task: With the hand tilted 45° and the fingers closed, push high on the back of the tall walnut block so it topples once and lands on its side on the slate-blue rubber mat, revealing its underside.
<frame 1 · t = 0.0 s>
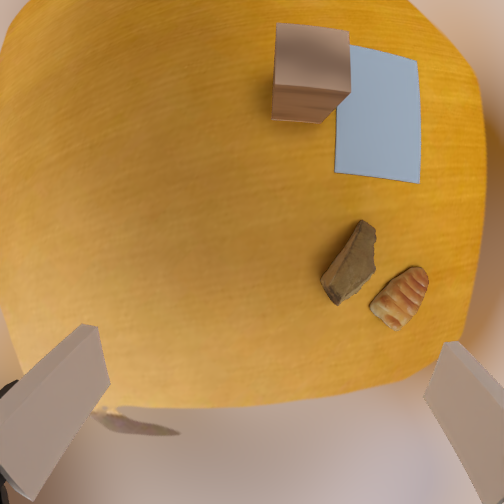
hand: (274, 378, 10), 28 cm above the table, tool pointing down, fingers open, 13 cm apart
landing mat: (380, 110, 32), on the table
walnut block: (296, 98, 33), on the table
pastry: (395, 295, 38), on the table
rock: (348, 259, 37), on the table
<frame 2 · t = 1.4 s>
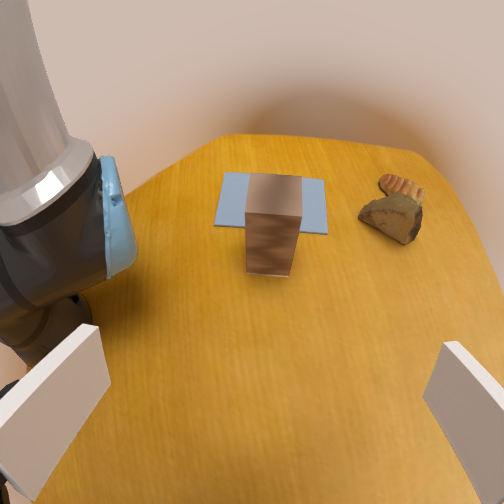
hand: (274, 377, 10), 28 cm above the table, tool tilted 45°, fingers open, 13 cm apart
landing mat: (272, 201, 50), on the table
walnut block: (269, 257, 44), on the table
pastry: (400, 198, 51), on the table
rock: (386, 227, 48), on the table
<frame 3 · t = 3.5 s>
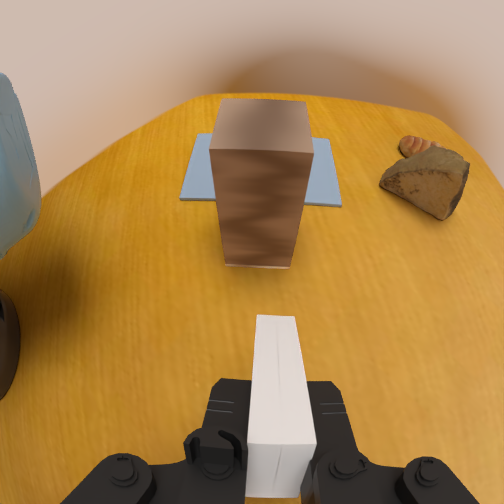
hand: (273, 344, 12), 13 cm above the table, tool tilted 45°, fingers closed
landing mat: (262, 165, 35), on the table
walnut block: (258, 240, 30), on the table
pastry: (427, 165, 37), on the table
rock: (416, 198, 33), on the table
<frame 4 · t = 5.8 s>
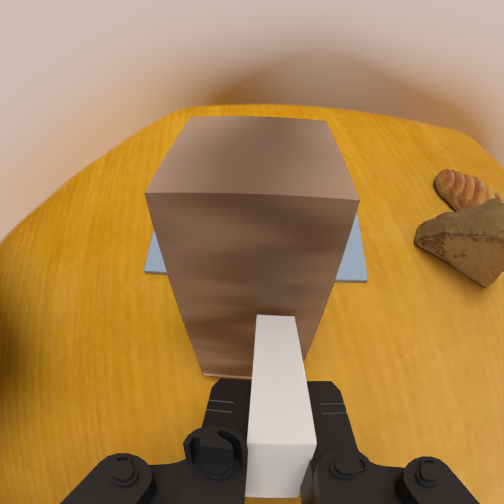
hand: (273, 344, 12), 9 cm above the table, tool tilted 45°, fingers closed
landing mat: (258, 216, 26), on the table
walnut block: (252, 338, 20), point 1 cm above the table, tilted 13°, touching gripper
pastry: (467, 208, 28), on the table
rock: (456, 256, 24), on the table
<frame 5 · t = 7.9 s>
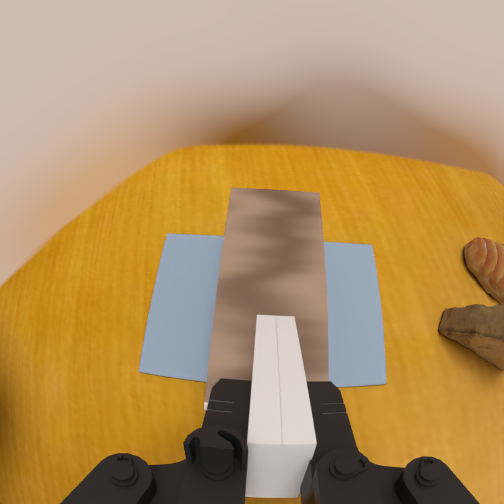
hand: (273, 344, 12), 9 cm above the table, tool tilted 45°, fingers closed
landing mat: (267, 307, 22), on the table
walnut block: (263, 414, 15), point 3 cm above the table, tilted 90°, touching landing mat
pastry: (494, 280, 23), on the table
rock: (479, 338, 20), on the table
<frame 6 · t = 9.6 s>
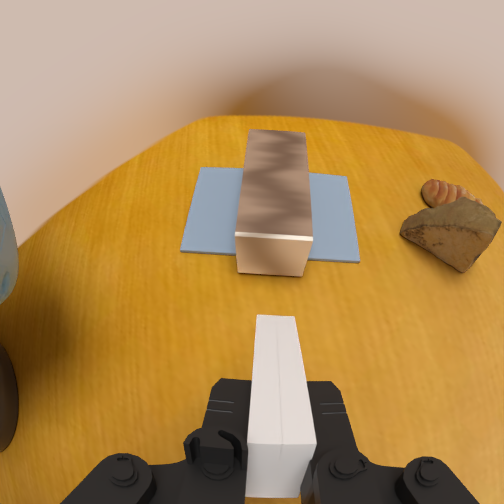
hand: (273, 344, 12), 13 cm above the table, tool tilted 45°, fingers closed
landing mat: (272, 210, 32), on the table
walnut block: (271, 258, 25), point 3 cm above the table, tilted 90°, touching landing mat
pastry: (450, 213, 33), on the table
rock: (437, 246, 30), on the table
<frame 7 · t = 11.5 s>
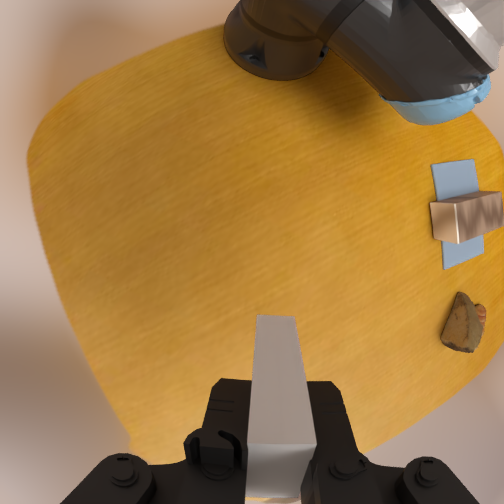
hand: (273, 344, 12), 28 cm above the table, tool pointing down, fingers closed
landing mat: (460, 212, 42), on the table
walnut block: (443, 222, 38), point 3 cm above the table, tilted 90°, touching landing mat
pastry: (467, 327, 47), on the table
rock: (452, 318, 46), on the table
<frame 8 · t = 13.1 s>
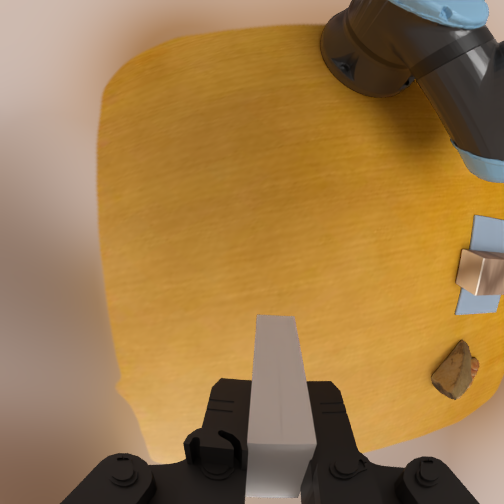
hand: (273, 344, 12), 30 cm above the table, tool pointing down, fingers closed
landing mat: (487, 267, 41), on the table
walnut block: (468, 271, 38), point 3 cm above the table, tilted 90°, touching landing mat
pastry: (458, 375, 47), on the table
rock: (448, 362, 46), on the table
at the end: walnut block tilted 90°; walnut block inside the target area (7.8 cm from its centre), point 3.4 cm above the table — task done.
